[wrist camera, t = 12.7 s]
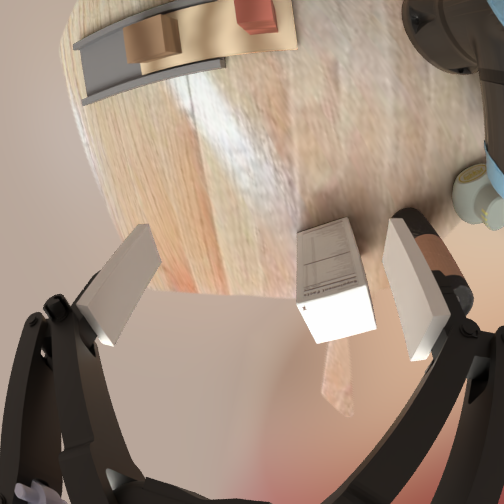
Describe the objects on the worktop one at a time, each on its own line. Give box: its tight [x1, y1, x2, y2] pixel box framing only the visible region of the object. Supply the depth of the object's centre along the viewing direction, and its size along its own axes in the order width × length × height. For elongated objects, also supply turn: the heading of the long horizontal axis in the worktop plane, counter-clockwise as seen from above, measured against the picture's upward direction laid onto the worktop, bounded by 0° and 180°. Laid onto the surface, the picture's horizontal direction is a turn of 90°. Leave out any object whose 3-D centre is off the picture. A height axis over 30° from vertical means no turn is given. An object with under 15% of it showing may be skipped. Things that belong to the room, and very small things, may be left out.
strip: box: [140, 0, 298, 75], centre depth 25 cm, size 22×9×10 cm, turn 96°
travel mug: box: [392, 208, 474, 316], centre depth 35 cm, size 8×8×20 cm
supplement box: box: [296, 217, 377, 344], centre depth 41 cm, size 10×9×17 cm
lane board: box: [73, 0, 226, 106], centre depth 31 cm, size 24×12×3 cm, turn 96°
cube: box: [123, 14, 182, 64], centre depth 27 cm, size 6×6×6 cm
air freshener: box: [452, 163, 504, 231], centre depth 32 cm, size 11×8×10 cm
